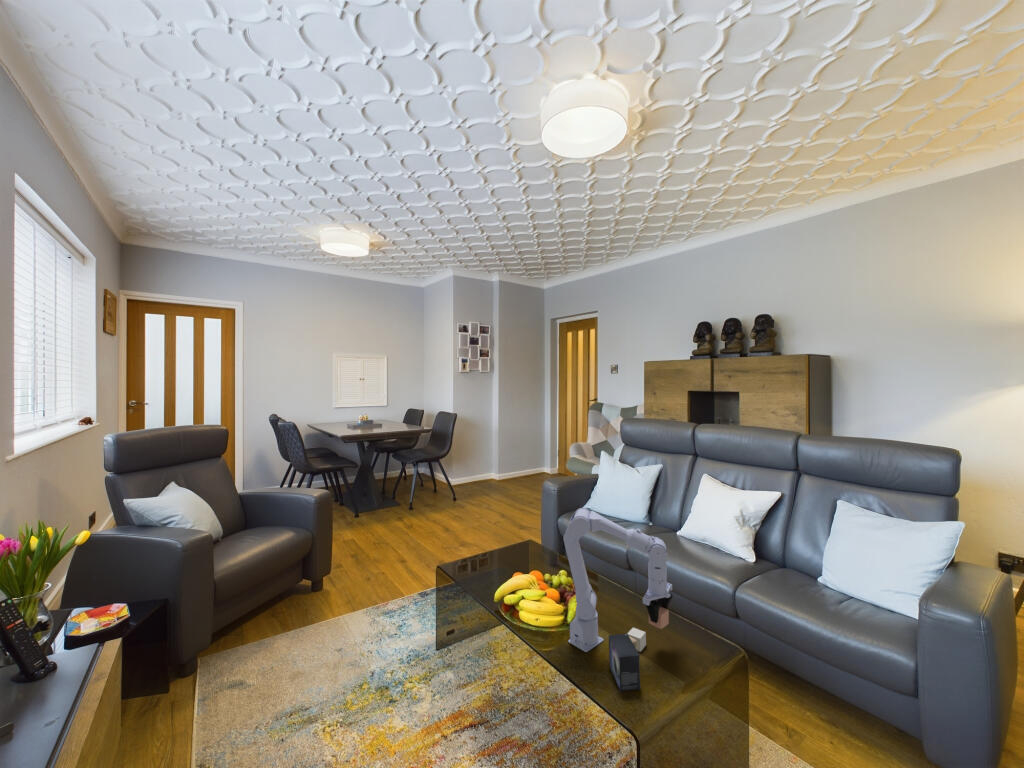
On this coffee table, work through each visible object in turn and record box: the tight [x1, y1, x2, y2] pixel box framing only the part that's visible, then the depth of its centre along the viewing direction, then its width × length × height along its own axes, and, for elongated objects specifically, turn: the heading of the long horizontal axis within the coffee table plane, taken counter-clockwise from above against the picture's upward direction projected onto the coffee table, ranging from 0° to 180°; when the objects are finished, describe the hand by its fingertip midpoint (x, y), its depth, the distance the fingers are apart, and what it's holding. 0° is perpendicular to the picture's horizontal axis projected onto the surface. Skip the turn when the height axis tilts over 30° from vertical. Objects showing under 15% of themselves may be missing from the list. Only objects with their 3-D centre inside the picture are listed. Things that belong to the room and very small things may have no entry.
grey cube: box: [626, 627, 647, 653], centre depth 148 cm, size 4×4×4 cm
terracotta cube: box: [648, 607, 670, 630], centre depth 145 cm, size 4×4×4 cm
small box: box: [608, 633, 642, 692], centre depth 133 cm, size 11×6×10 cm, turn 5°
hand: (658, 618), depth 146 cm, fingers closed on terracotta cube, 4 cm apart
